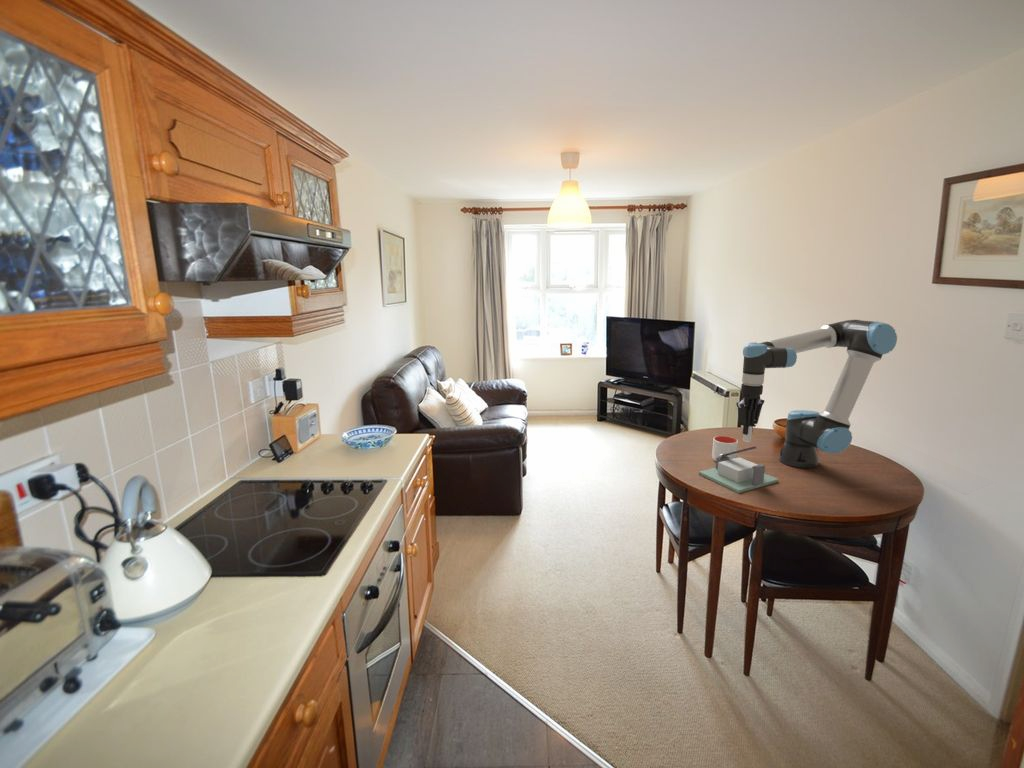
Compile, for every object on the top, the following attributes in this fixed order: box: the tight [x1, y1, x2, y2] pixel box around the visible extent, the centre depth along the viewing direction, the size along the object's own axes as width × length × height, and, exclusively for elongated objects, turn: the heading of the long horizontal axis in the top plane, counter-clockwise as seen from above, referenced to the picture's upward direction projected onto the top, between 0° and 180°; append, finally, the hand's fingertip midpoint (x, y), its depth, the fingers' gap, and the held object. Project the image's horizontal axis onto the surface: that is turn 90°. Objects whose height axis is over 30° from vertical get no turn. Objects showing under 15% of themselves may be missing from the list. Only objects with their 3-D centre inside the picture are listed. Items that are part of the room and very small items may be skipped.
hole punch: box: [698, 456, 779, 494], centre depth 197 cm, size 22×20×9 cm
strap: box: [718, 446, 757, 458], centre depth 197 cm, size 4×17×1 cm, turn 25°
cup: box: [711, 435, 739, 462], centre depth 215 cm, size 10×10×10 cm
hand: (746, 441), depth 192 cm, fingers closed
